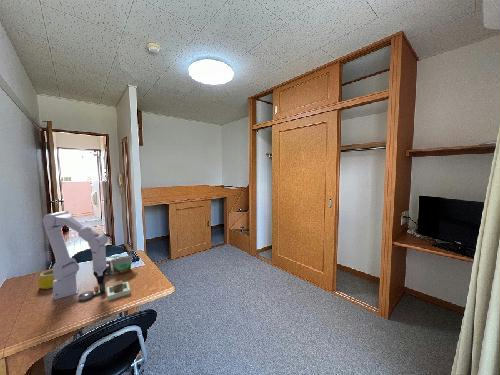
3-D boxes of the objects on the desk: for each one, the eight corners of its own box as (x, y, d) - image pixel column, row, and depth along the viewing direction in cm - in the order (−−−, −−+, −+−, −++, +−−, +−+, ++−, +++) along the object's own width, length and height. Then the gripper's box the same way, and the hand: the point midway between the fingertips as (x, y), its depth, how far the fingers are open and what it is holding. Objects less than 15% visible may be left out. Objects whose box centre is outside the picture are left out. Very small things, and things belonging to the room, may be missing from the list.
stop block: (114, 294, 113) (113, 285, 112) (113, 291, 116) (113, 282, 116) (123, 292, 115) (122, 283, 115) (122, 288, 118) (121, 280, 118)
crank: (78, 302, 107) (77, 292, 107) (78, 296, 112) (77, 287, 112) (106, 294, 114) (105, 285, 113) (105, 288, 119) (104, 280, 119)
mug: (35, 287, 121) (33, 267, 120) (59, 278, 131) (57, 259, 130) (45, 293, 115) (43, 272, 114) (70, 283, 125) (68, 263, 124)
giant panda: (111, 268, 143) (110, 255, 142) (119, 269, 143) (118, 255, 142) (93, 280, 129) (91, 265, 128) (101, 280, 128) (100, 265, 127)
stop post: (94, 294, 115) (93, 287, 114) (94, 292, 116) (94, 286, 116) (99, 292, 116) (98, 286, 115) (99, 291, 117) (98, 284, 117)
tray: (108, 300, 109) (107, 296, 108) (107, 291, 117) (106, 287, 116) (130, 293, 114) (130, 289, 114) (128, 285, 122) (127, 281, 122)
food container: (116, 278, 131) (114, 262, 130) (111, 275, 135) (110, 259, 134) (136, 270, 141) (135, 255, 140) (132, 267, 145) (131, 253, 144)
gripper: (109, 261, 108) (110, 287, 109) (107, 252, 120) (109, 275, 121) (91, 265, 104) (93, 291, 105) (92, 255, 116) (93, 279, 117)
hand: (100, 283), depth 113 cm, fingers closed
